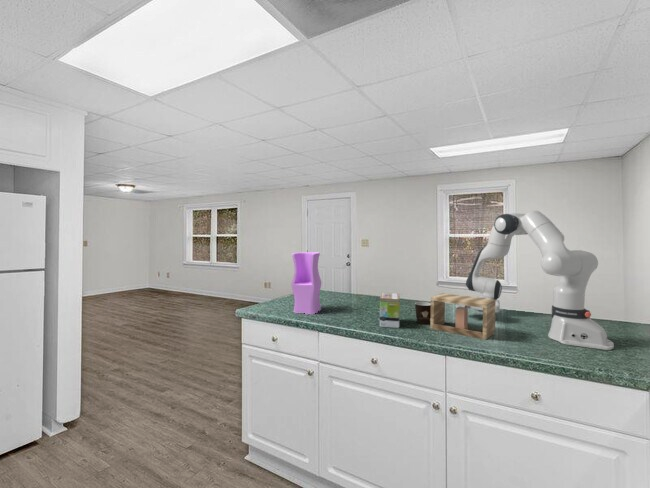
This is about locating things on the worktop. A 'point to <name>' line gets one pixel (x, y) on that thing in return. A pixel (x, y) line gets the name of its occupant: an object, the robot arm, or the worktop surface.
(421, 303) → the coffee mug
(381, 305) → the tea box
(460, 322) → the block
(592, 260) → the robot arm
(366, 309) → the worktop surface
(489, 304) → the shelf
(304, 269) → the container
